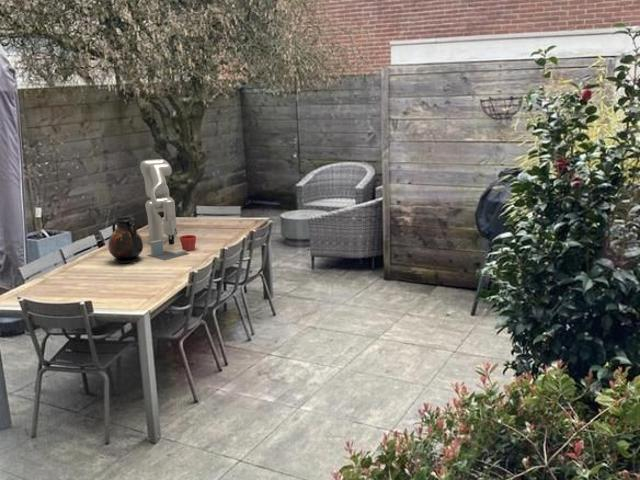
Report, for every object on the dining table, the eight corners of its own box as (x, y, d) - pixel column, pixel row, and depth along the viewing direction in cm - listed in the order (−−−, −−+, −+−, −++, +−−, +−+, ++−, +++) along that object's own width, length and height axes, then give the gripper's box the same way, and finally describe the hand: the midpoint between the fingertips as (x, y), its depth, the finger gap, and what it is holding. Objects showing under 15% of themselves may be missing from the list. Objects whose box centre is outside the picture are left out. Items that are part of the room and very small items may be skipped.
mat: (146, 256, 399) (146, 255, 398) (172, 249, 414) (172, 249, 414) (164, 261, 386) (164, 260, 386) (190, 254, 402) (190, 253, 402)
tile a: (166, 250, 403) (175, 252, 397) (176, 248, 409) (185, 250, 403) (166, 253, 404) (175, 255, 398) (176, 250, 410) (185, 253, 404)
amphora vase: (151, 258, 393) (148, 216, 386) (128, 267, 374) (124, 223, 367) (126, 255, 402) (122, 214, 395) (102, 263, 383) (98, 220, 376)
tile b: (151, 255, 397) (150, 242, 395) (161, 253, 403) (160, 239, 401) (153, 256, 396) (152, 242, 394) (163, 253, 402) (162, 240, 400)
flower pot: (193, 252, 407) (192, 238, 405) (178, 252, 409) (177, 238, 407) (199, 248, 417) (198, 235, 415) (184, 248, 419) (183, 234, 417)
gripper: (158, 217, 402) (160, 243, 407) (172, 220, 393) (173, 247, 398) (167, 215, 408) (169, 241, 413) (181, 218, 399) (183, 245, 403)
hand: (171, 244), depth 405 cm, fingers closed
